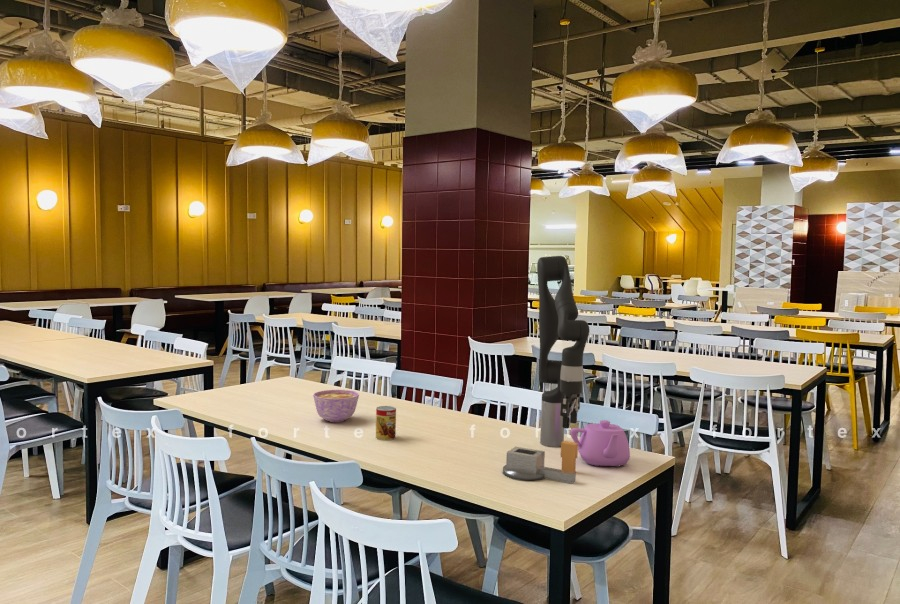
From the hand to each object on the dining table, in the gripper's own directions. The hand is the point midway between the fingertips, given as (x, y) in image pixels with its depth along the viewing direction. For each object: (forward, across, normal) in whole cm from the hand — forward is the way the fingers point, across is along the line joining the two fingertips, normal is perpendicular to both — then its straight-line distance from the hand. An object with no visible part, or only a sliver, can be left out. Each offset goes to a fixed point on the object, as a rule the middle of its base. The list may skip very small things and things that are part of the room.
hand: (569, 425), depth 219 cm
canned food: (+16, -2, -76) cm, 78 cm away
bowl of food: (+16, -14, -110) cm, 112 cm away
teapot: (+16, -17, +8) cm, 25 cm away
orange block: (+16, 0, 0) cm, 16 cm away
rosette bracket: (+16, +10, -7) cm, 20 cm away
